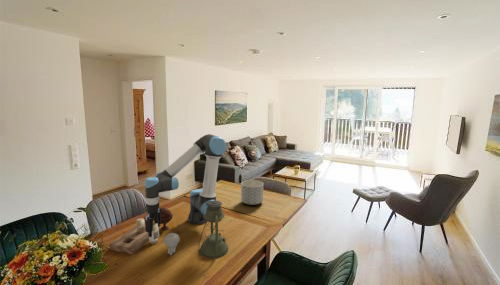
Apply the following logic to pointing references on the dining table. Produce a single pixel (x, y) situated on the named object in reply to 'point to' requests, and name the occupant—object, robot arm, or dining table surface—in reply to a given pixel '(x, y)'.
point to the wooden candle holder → (131, 239)
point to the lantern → (214, 242)
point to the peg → (155, 233)
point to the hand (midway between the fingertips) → (154, 238)
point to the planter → (252, 192)
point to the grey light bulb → (171, 242)
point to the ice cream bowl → (165, 218)
